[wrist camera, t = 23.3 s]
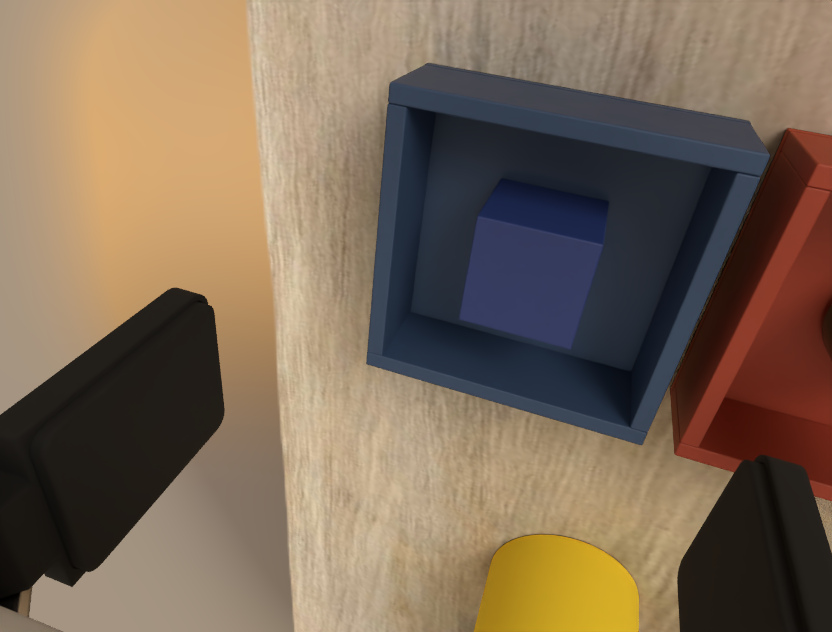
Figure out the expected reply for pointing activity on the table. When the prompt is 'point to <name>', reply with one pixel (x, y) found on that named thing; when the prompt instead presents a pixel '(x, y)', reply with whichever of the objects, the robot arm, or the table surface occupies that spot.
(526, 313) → the blue block
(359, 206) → the table surface
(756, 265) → the red bin
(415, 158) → the blue bin
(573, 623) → the tape roll
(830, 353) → the soda can
